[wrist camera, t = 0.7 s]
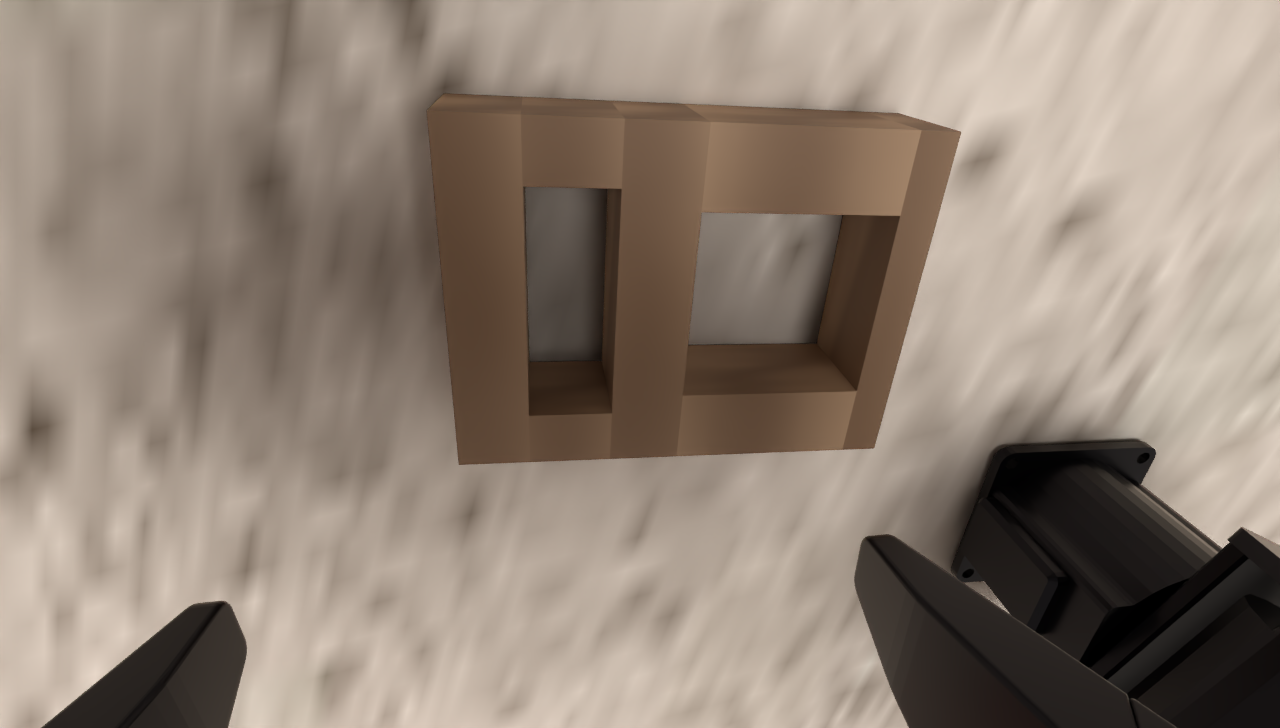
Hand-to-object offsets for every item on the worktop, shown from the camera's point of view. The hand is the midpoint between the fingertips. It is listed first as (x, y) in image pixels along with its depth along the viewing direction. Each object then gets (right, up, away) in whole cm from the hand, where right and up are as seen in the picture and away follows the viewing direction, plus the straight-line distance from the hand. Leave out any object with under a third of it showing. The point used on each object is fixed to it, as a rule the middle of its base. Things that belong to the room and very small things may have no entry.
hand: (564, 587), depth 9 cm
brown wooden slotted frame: (+2, +6, +10) cm, 12 cm away
